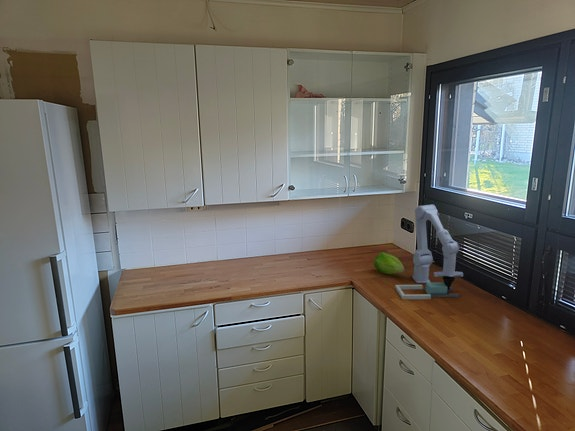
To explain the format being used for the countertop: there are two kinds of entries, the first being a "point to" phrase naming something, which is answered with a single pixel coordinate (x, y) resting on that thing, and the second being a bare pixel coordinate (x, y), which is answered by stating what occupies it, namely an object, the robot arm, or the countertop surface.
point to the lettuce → (388, 264)
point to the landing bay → (415, 296)
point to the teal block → (436, 288)
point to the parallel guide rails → (445, 294)
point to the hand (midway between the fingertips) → (447, 289)
